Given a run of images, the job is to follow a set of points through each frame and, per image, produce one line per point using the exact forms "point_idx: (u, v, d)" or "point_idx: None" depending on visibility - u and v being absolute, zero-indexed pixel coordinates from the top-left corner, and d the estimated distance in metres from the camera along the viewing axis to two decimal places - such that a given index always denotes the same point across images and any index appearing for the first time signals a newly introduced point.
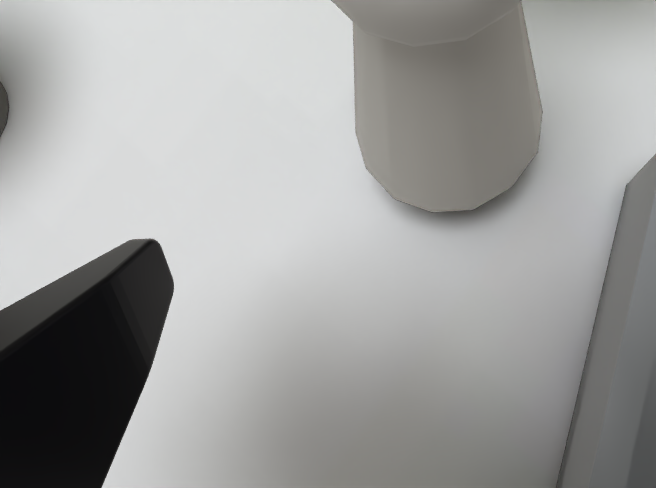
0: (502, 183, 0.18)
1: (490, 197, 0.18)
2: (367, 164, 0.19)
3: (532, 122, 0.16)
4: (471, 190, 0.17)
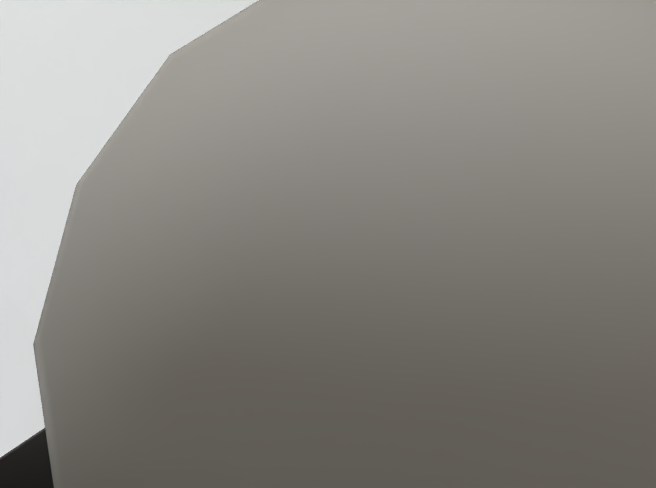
0: None
1: None
2: None
3: None
4: None
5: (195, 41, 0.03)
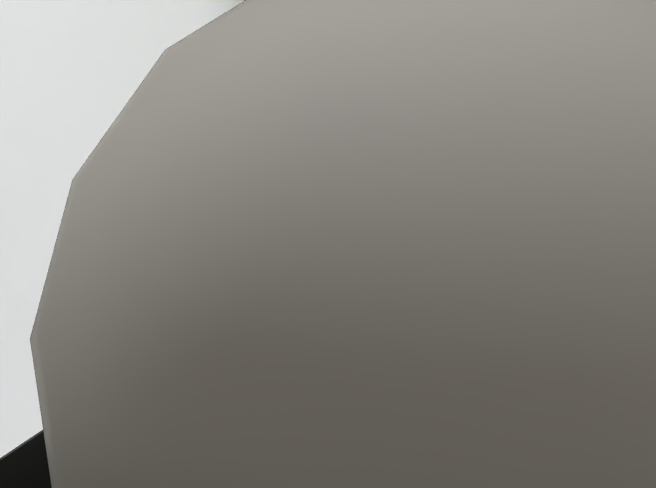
0: None
1: None
2: None
3: None
4: None
5: (189, 36, 0.03)
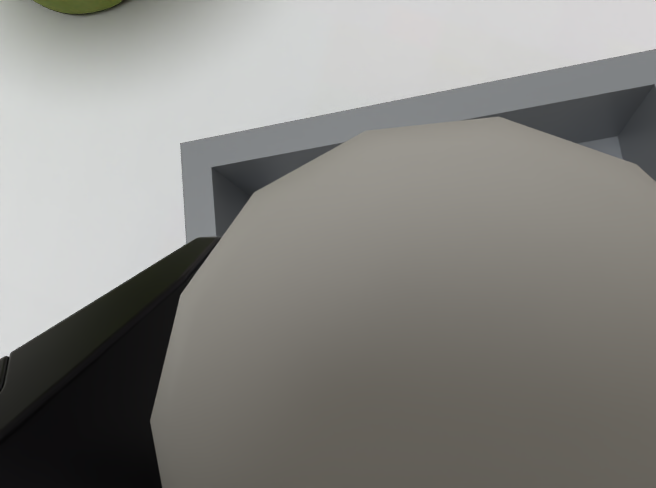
0: None
1: None
2: None
3: None
4: None
5: (277, 189, 0.04)
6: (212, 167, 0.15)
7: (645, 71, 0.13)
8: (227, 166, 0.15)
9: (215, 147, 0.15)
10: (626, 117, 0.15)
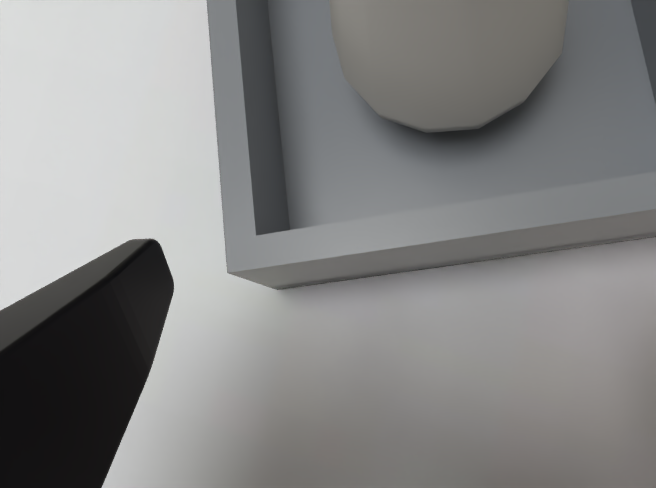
0: (516, 89, 0.14)
1: (500, 110, 0.14)
2: (345, 70, 0.15)
3: None
4: (476, 93, 0.13)
5: None
6: None
7: None
8: None
9: None
10: None
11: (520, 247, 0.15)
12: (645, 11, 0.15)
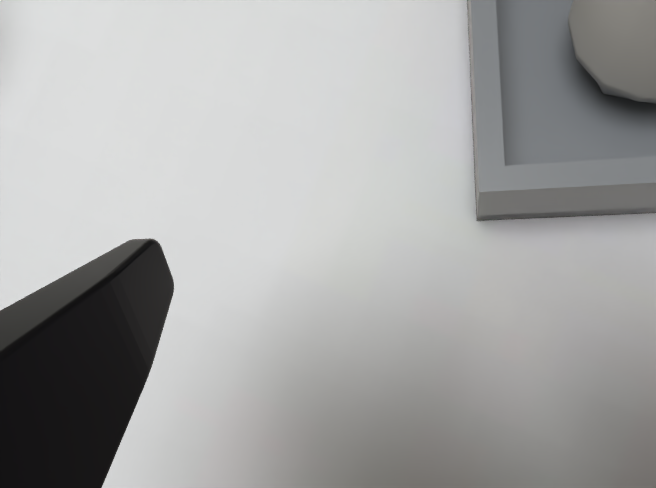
0: None
1: None
2: (583, 45, 0.19)
3: None
4: None
5: None
6: None
7: None
8: None
9: None
10: None
11: None
12: None
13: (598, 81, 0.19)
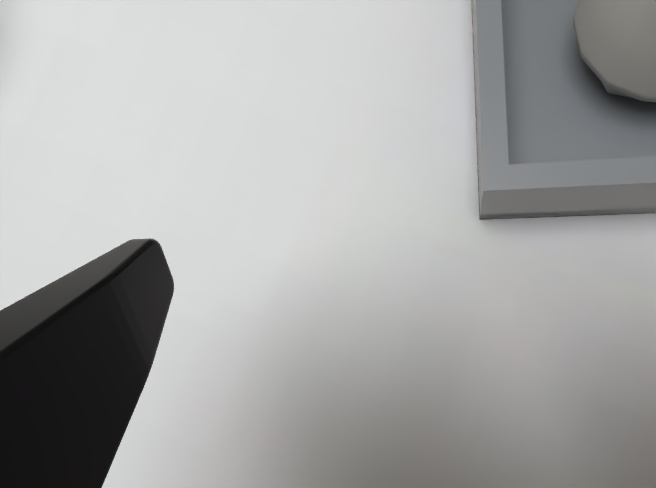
0: None
1: None
2: (588, 44, 0.19)
3: None
4: None
5: None
6: None
7: None
8: None
9: None
10: None
11: None
12: None
13: (603, 80, 0.19)
